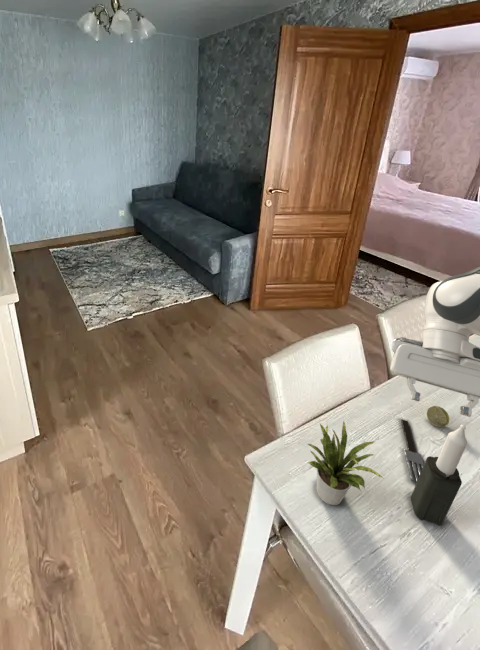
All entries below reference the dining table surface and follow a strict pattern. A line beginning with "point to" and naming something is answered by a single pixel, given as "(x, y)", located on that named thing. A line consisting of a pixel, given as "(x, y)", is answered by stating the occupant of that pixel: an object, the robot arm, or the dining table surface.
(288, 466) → the dining table surface
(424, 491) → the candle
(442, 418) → the lime
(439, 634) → the dining table surface
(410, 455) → the fork
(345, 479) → the house plant
